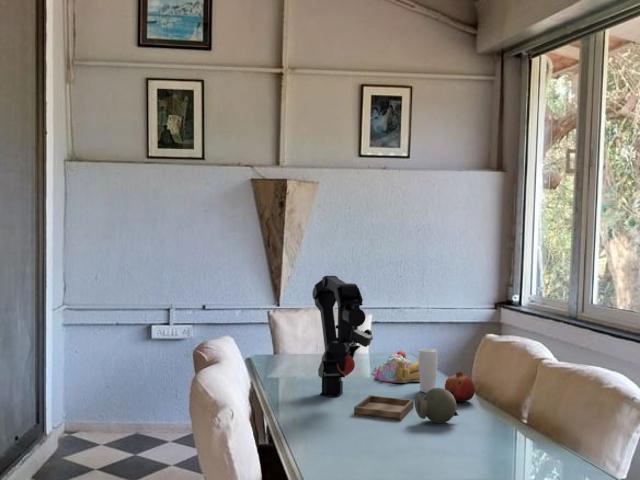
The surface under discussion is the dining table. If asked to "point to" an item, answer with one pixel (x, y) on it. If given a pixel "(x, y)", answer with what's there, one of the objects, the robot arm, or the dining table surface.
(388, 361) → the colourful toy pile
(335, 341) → the robot arm
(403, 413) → the tray
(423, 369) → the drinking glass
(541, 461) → the dining table surface
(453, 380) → the fruit
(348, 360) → the onion
